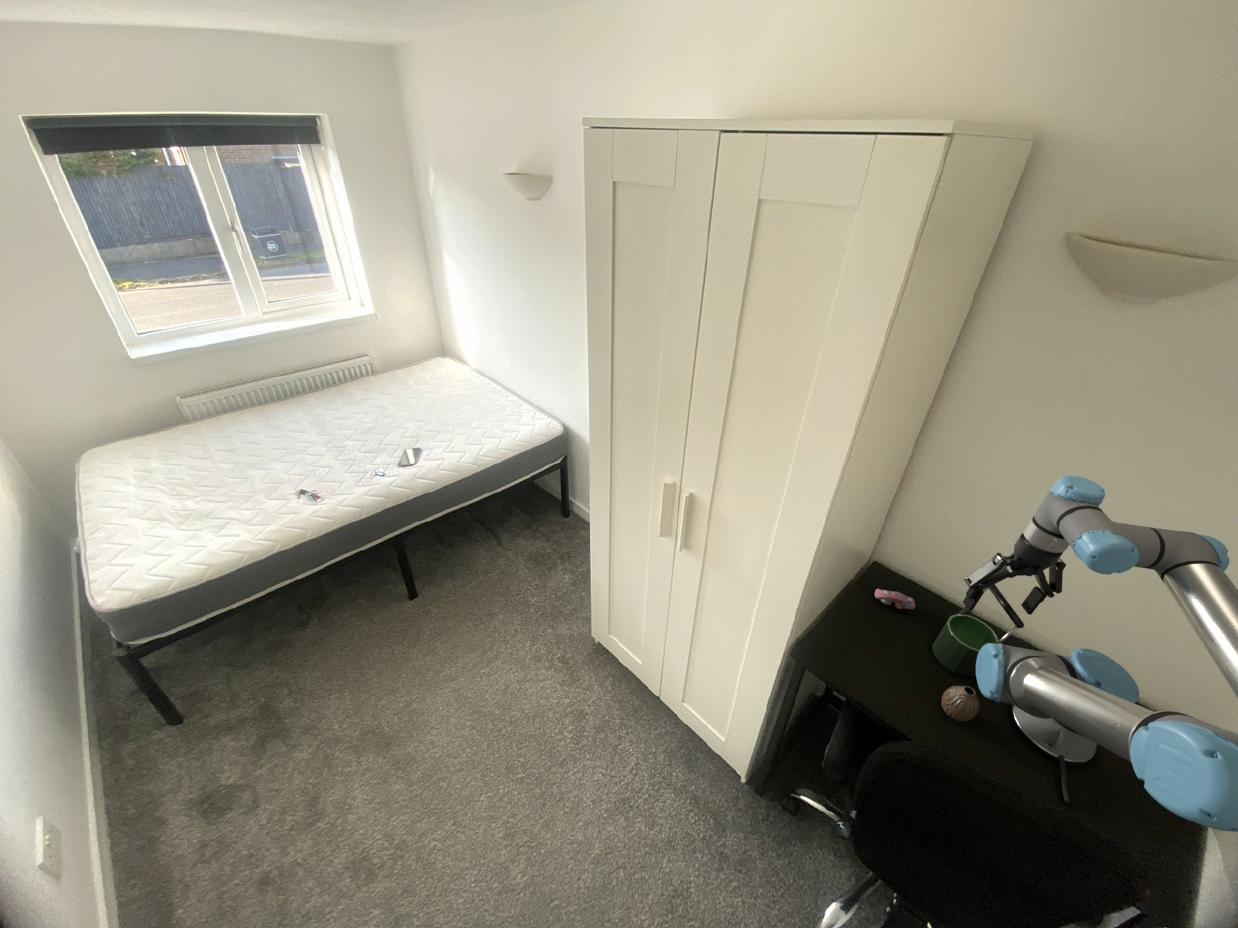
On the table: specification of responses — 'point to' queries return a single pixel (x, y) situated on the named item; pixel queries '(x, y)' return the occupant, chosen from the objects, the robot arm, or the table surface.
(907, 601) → the video game controller
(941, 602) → the table surface
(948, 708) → the vase
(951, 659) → the bucket
